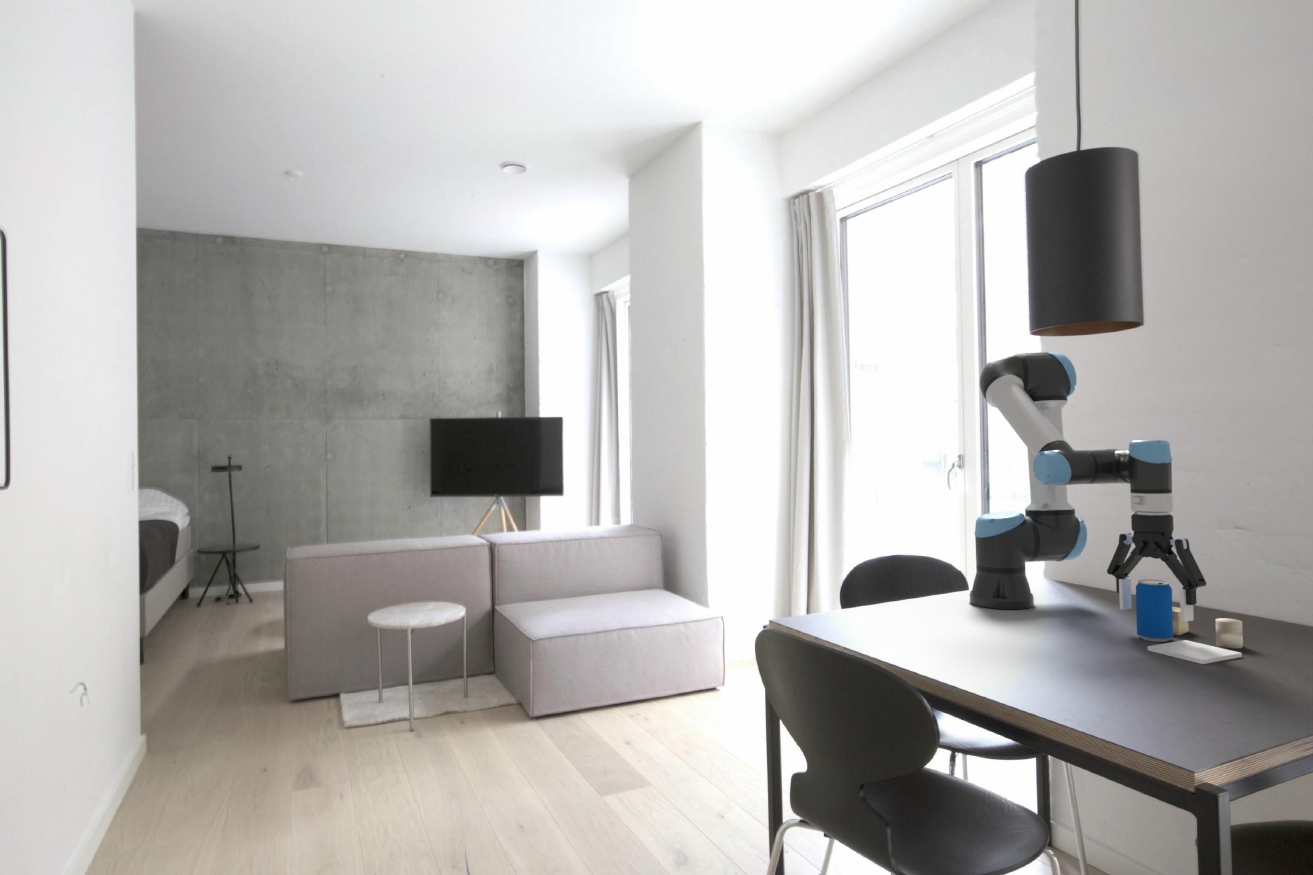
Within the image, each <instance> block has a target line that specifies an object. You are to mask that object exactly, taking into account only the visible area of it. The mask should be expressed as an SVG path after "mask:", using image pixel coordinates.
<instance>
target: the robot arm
mask: <svg viewBox="0 0 1313 875" xmlns="http://www.w3.org/2000/svg"><path fill="white" fill-rule="evenodd" d="M980 373H981V374H980V377H979V378H980V379H979V387H980V388H979V389H980V391H981V394H982V396H983V398H984V400H986V402H987V403H988V404H989V406H991V407H993V408H997V409H998V411H999V413H1001V415H1002V416H1003V417H1004V419H1005V420H1006V422H1008V424H1009V425H1010V427H1011V428H1012V429H1013V431H1014V432H1015V433H1016V435H1017V436H1018V437H1019V438H1020V439H1021V441H1022V442H1023V444H1024V445H1025V446H1026V448H1027V462H1028V476H1029V477H1028V478H1029V491H1030V502H1029V504H1028V505H1026V507H1025V508H1024V512H1023V511H1019V510H1006V511H1005V510H1003V511H1002V510H1001V511H995V512H989V513H985V514H982V515H980V516H978V517H977V518H976V520H975V526H974V527H975V528H974V536H975V537H974V538H975V541H974V542H975V564H976V565H975V567H976V570H975V571H976V572H975V575H974V578H973V584H972V589H971V590H970V592H969V603H970V604H972V605H974V606H978V607H982V608H987V609H995V610H996V609H997V610H1022V609H1023V610H1024V609H1029V608H1033V607H1034V605H1035V603H1034V602H1035V601H1034V600H1035V598H1034V593H1031V592H1032V591H1031V587H1030V584H1029V580H1028V578H1027V575H1026V574H1027V573H1026V563H1030V562H1031V563H1032V562H1033V563H1034V562H1059V563H1060V562H1063V561H1071V560H1072V561H1073V560H1075V559H1076V558H1078V557H1079V556H1081V554H1082V552H1084V549H1085V548H1086V545H1087V540H1088V530H1087V529H1088V528H1087V525H1086V523H1085V521H1084V519H1083V517H1081V516H1080V515H1078V514H1076V510H1075V509H1076V508H1075V506H1073V505H1072V504H1071V503H1070V502H1069V501H1068V487H1067V486H1071V485H1096V484H1097V485H1098V484H1099V485H1105V484H1126V485H1127V484H1128V485H1130V486H1129V488H1130V489H1129V490H1130V510H1131V511H1132V512H1134V513H1132V515H1131V516H1130V519H1131V520H1130V521H1131V523H1130V524H1131V525H1130V526H1131V530H1132V531H1133V534H1131V532H1130V533H1129V532H1128V533H1120V534H1119V535H1118V544H1117V546H1116V549H1115V550H1114V551H1115V552H1114V554H1113V556H1112V558H1111V560H1110V563H1109V564H1108V568H1107V570H1106V573H1107V574H1108V575H1111V576H1113V577H1114V578H1115V583H1116V593H1118V594H1119V596H1118V598H1119V610H1122V611H1124V610H1132V608H1133V606H1132V605H1133V604H1132V602H1133V601H1132V578H1130V574H1131V572H1132V571H1133V570H1135V568H1136V567H1137V565H1138V564H1139V563H1140V562H1141V561H1142V559H1143V558H1151V559H1160V561H1162V562H1163V563H1164V564H1165V565H1166V566H1167V567H1168V568H1169V570H1170V571H1171V573H1172V574H1173V575H1174V577H1175V578H1176V579H1177V580H1178V581H1179V583H1180V584H1181V585H1182V587H1181V588H1179V605H1180V607H1179V608H1180V611H1181V621H1183V622H1186V621H1188V622H1193V621H1194V619H1195V618H1194V606H1196V605H1197V589H1198V588H1202V587H1205V586H1207V581H1206V580H1205V577H1204V575H1203V573H1202V571H1201V569H1200V567H1199V565H1198V563H1197V562H1196V559H1195V557H1194V555H1193V553H1192V552H1191V547H1190V542H1189V539H1188V538H1177V539H1174V537H1173V532H1174V530H1175V529H1174V528H1175V527H1174V516H1173V515H1172V514H1171V513H1172V512H1173V511H1174V500H1173V499H1174V498H1173V478H1172V476H1173V475H1172V474H1173V473H1172V471H1173V470H1172V468H1173V466H1172V464H1173V463H1172V461H1173V458H1172V453H1171V444H1170V442H1169V441H1168V440H1165V439H1143V440H1141V439H1140V440H1135V439H1134V440H1131V441H1130V442H1129V444H1128V449H1118V448H1110V449H1109V448H1107V449H1090V450H1088V449H1083V450H1081V449H1080V450H1076V449H1073V447H1072V446H1071V444H1069V442H1067V441H1066V439H1065V438H1064V428H1063V413H1062V412H1063V411H1062V410H1063V408H1064V407H1065V406H1066V405H1067V404H1068V397H1069V396H1071V395H1072V394H1073V393H1074V392H1075V390H1076V388H1075V387H1076V386H1077V373H1076V370H1075V366H1074V364H1073V362H1072V361H1071V359H1070V358H1068V357H1067V356H1066V355H1065V354H1063V353H1059V352H1049V351H1045V352H1023V353H1022V352H1020V353H1017V352H1016V353H1015V352H1009V353H1003V354H999V355H997V356H995V357H994V358H992V359H990V360H989V362H988V363H987V364H986V365H985V366H984V367H983V369H982V372H980ZM1132 544H1134V545H1133V546H1134V548H1133V549H1132V550H1131V551H1130V549H1131V548H1132ZM1172 548H1173V549H1174V550H1175V551H1174V550H1173V549H1172ZM1175 552H1176V553H1175ZM1129 553H1130V554H1129ZM1128 554H1129V556H1128ZM1127 556H1128V557H1127Z"/></svg>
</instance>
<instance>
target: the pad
mask: <svg viewBox="0 0 1313 875" xmlns="http://www.w3.org/2000/svg"><path fill="white" fill-rule="evenodd" d="M1147 651H1150V652H1153V653H1156V654H1160V655H1165V656H1168V657H1169V656H1170V657H1173V658H1176V659H1180V660H1185V661H1188V662H1191V663H1197V664H1200V665H1205V664H1206V665H1207V664H1212V663H1217V662H1222V661H1227V660H1233V659H1239V658H1242V657H1243V656H1242V655H1243V653H1242V652H1240V651H1235V650H1232V649H1231V650H1230V649H1227V648H1224V647H1219V646H1212V645H1209V644H1204V643H1200V642H1195V641H1191V640H1187V639H1183V640H1179V641H1177V640H1176V641H1171V642H1164V643H1161V644H1160V643H1159V644H1153V645H1148V646H1147Z"/></svg>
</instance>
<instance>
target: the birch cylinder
mask: <svg viewBox="0 0 1313 875" xmlns="http://www.w3.org/2000/svg"><path fill="white" fill-rule="evenodd" d="M1243 637H1244V636H1243V621H1242V620H1239V619H1235V618H1226V617H1225V618H1222V617H1221V618H1215V644H1216V646H1217V647H1220V648H1225V649H1227V648H1228V649H1242V648H1244V643H1243V642H1244V641H1243V640H1244V638H1243Z"/></svg>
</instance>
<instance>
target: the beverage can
mask: <svg viewBox="0 0 1313 875" xmlns="http://www.w3.org/2000/svg"><path fill="white" fill-rule="evenodd" d="M1137 582H1138V583H1137V584H1136V585H1135V610H1136V612H1135V613H1136V635H1137V636H1139V637H1140V638H1141V639H1142V640H1144V641H1149V642H1156V643H1157V642H1158V643H1163V642H1164V643H1167V642H1168V641H1170V640H1171V639H1174V634H1173V610H1172V607H1173V588H1172V587H1171V585H1170V581H1167V580H1162V579H1161V580H1160V579H1151V578H1149V579H1148V578H1147V579H1144V578H1143V579H1139V580H1137Z"/></svg>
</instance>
